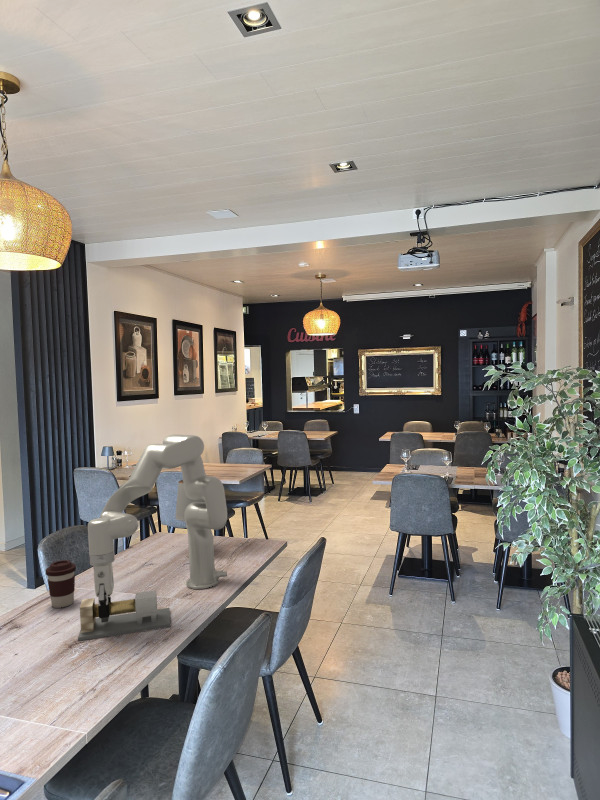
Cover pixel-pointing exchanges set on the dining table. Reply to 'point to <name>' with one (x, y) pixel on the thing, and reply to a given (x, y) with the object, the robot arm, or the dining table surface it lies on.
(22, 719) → the dining table surface
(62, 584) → the coffee cup
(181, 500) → the lamp
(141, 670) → the dining table surface
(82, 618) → the socket
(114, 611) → the tube
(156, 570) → the dining table surface
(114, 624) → the board
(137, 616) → the sleeve
